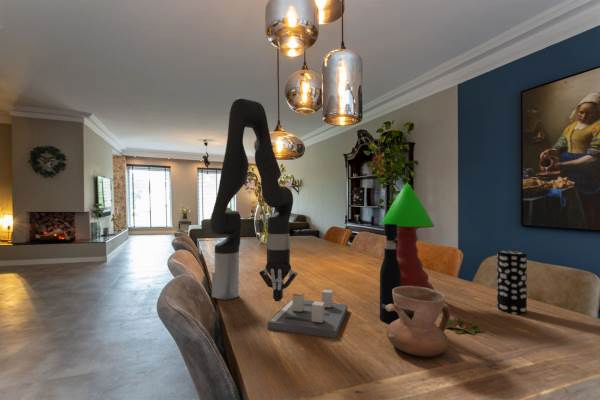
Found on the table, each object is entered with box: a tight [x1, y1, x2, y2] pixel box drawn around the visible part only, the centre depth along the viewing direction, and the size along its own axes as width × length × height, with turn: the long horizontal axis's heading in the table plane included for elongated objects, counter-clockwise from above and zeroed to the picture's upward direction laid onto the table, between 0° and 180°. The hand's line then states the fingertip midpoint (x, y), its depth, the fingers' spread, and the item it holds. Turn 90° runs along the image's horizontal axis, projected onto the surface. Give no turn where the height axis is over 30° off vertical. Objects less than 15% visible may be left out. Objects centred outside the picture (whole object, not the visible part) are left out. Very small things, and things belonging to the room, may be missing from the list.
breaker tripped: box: [291, 291, 305, 312], centre depth 96 cm, size 3×3×5 cm
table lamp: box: [380, 182, 435, 290], centre depth 117 cm, size 20×20×45 cm
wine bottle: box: [379, 224, 401, 325], centre depth 95 cm, size 6×6×30 cm
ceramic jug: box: [385, 286, 452, 358], centre depth 76 cm, size 18×14×14 cm
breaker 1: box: [312, 300, 325, 323], centre depth 87 cm, size 3×3×5 cm
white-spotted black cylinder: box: [496, 249, 528, 316], centre depth 104 cm, size 8×8×20 cm
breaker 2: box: [321, 289, 334, 308], centre depth 100 cm, size 3×3×5 cm
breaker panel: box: [266, 298, 348, 339], centre depth 95 cm, size 20×22×2 cm
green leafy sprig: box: [437, 311, 485, 336], centre depth 89 cm, size 12×12×5 cm
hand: (278, 300), depth 98 cm, fingers closed
